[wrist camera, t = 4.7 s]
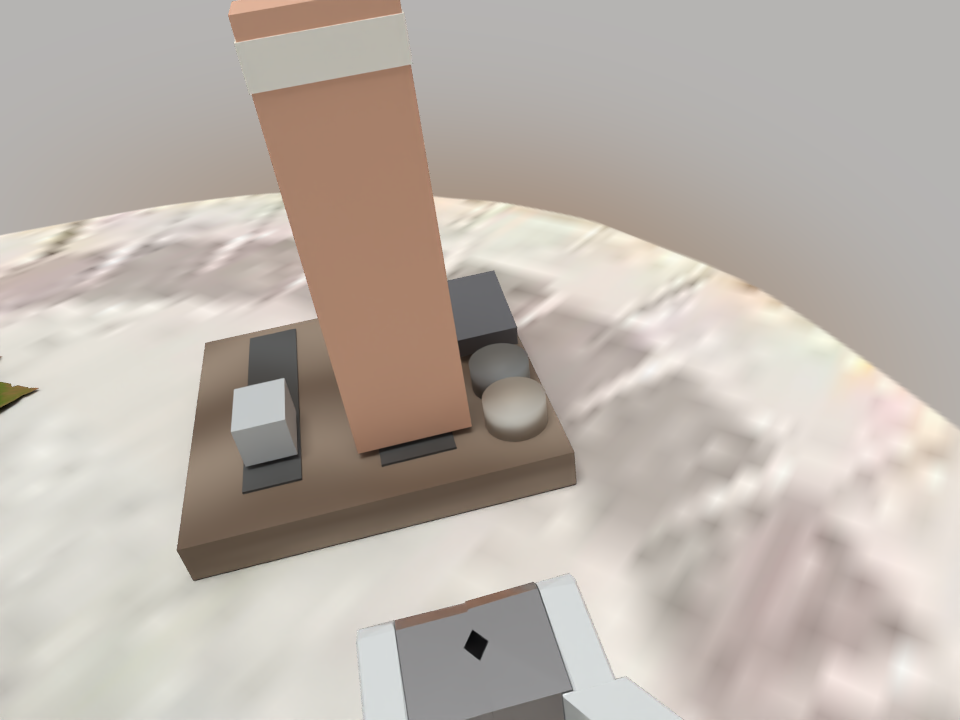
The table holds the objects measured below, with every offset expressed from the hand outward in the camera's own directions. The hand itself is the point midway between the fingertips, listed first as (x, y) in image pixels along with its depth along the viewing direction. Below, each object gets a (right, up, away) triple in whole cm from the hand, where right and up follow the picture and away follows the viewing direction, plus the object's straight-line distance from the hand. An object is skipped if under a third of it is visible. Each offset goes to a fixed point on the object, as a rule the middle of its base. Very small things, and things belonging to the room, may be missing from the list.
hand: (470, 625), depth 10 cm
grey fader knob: (-7, +1, +17) cm, 18 cm away
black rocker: (0, +6, +20) cm, 21 cm away
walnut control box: (-4, +1, +20) cm, 20 cm away
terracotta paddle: (-2, +1, +16) cm, 17 cm away
